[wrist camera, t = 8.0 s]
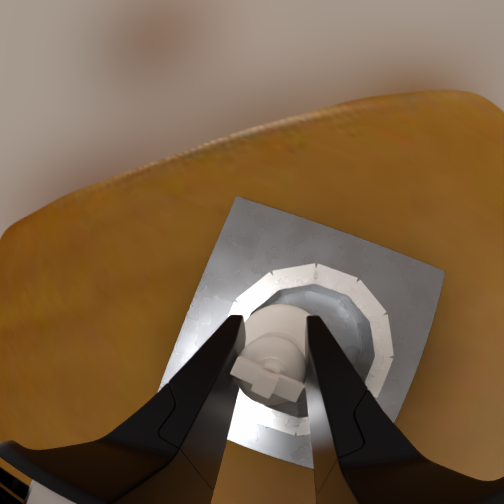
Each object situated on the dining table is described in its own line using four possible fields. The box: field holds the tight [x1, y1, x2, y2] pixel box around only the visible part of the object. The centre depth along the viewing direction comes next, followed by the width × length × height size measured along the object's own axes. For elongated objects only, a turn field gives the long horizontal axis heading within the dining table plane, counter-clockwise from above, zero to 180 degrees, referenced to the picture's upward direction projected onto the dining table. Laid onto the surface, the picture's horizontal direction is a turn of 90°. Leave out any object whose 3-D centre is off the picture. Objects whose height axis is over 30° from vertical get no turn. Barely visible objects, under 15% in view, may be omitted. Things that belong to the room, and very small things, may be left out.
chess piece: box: [230, 304, 311, 405], centre depth 11 cm, size 5×5×10 cm
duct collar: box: [158, 196, 445, 469], centre depth 19 cm, size 18×18×5 cm
